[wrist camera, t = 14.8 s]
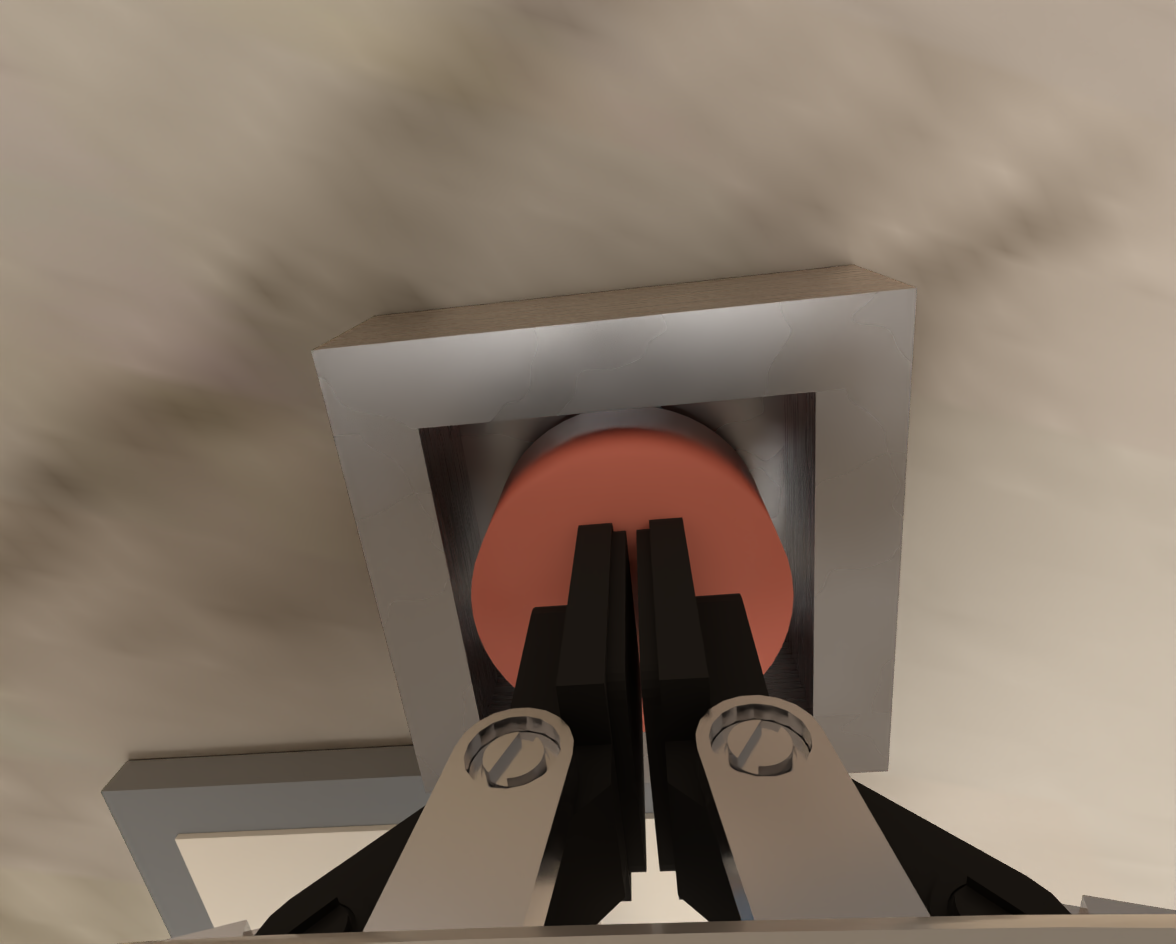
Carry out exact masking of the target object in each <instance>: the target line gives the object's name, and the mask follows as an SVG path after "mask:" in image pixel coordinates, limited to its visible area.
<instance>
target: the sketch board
mask: <svg viewBox="0 0 1176 944" xmlns="http://www.w3.org/2000/svg"><path fill="white" fill-rule="evenodd" d="M644 789H645V823H646V858H647V871H646V872H632V873H631V891H632V901H622V902H620V903H619V904H618V905H617V906H616V907H615V908H614V909H613V910H612V911H610V912H609V913H608V914H607V915H606V916H605V917H604V918H603V919H602V920H601V923H602V924H638V923H676V922H709V921H708V920H706V919H705V918H704V917H703V916H702V915H700V914H699V913H698V912H697V911H696V910H694V909H693V908H692V907H691V906H690V905H688V904H687V903H686V902H685V901H684V900H679V896H678V892H677V881H676V871H662V872H660V869H659V860H658V850H657V840H656V831H655V821H654V811H653V801H652V792H651V783H644ZM101 793H102V795H103V797H104V799H105V802H106V804H107V806H108V808H109V810H110V812H111V814H112V816H113V818H114V820H115V822H116V824H117V826H118V828H119V831H120V833H121V835H122V837H123V839H124V841H125V843H126V845H127V847H128V849H129V851H130V853H131V855H132V857H133V860H134V862H135V864H136V866H137V868H138V870H139V872H140V874H141V876H142V878H143V880H144V882H145V884H146V886H147V888H148V891H149V893H150V895H151V897H152V899H153V901H154V903H155V905H156V907H157V909H158V911H159V913H160V915H161V917H162V920H163V922H164V924H165V926H166V928H167V930H168V932H169V934H170V936H171V938H175V937H179V936H183V935H187V934H191V933H195V932H199V931H203V930H207V929H211V928H215V927H219V926H223V925H227V924H231V923H235V922H239V921H243V920H247V921H248V923H249V926H250V928H251V930H254V929H258V928H261V926H262V925H263V924H264V923H265V921H266V920H267V919H268V918H269V916H270V915H272V914H273V913H274V912H275V911H276V910H277V909H279V908H280V907H281V906H282V905H283V904H285V903H286V902H287V901H288V900H289V899H291V898H292V897H294V896H295V895H296V894H298V893H299V892H301V891H302V890H304V889H305V888H307V887H308V886H309V885H311V884H312V883H314V882H315V881H317V880H318V879H320V878H321V877H322V876H324V875H325V874H327V873H328V872H330V871H331V870H333V869H334V868H335V867H337V866H338V865H340V864H341V863H343V862H344V861H346V860H347V859H348V858H350V857H351V856H353V855H354V854H356V853H357V852H359V851H360V850H361V849H363V848H364V847H366V846H367V845H369V844H370V843H372V842H373V841H374V840H376V839H377V838H379V837H380V836H382V835H383V834H385V833H386V832H387V831H389V830H390V829H392V828H393V827H395V826H396V825H398V824H399V823H400V822H402V821H403V820H405V819H406V818H408V817H409V816H411V815H412V814H413V813H415V812H416V811H418V810H419V809H421V808H422V807H424V806H425V805H426V803H427V801H428V799H429V797H430V795H431V793H426V792H425V789H424V785H423V781H422V777H421V773H420V769H419V765H418V761H417V758H416V754H415V750H414V746H395V747H376V748H357V749H339V750H320V751H302V752H283V753H264V754H246V755H227V756H209V757H190V758H171V759H153V760H134V761H127V762H126V763H125V764H124V765H123V766H122V767H121V769H120V770H119V771H118V772H117V773H116V774H115V776H114V777H113V778H112V779H111V780H110V781H109V783H108V784H107V785H106V786H105V787H104V788H103V790H102V791H101Z"/></svg>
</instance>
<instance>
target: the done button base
mask: <svg viewBox="0 0 1176 944" xmlns="http://www.w3.org/2000/svg"><path fill="white" fill-rule="evenodd" d="M916 295H917V288H916V287H913V286H911V285H908V284H905V283H902V282H900V281H897V280H894V279H892V278H889V277H886V276H883V275H881V274H878V273H875V272H872V271H870V270H867V269H864V268H862V267H859V266H856V265H847V266H838V267H829V268H819V269H810V270H801V271H791V272H782V273H773V274H763V275H754V276H745V277H735V278H726V279H717V280H707V281H698V282H688V283H679V284H670V285H660V286H651V287H642V288H632V289H623V290H614V291H604V292H595V293H586V294H576V295H567V296H558V297H548V298H539V299H529V300H520V301H511V302H501V303H492V304H483V305H473V306H464V307H455V308H445V309H436V310H427V311H417V312H408V313H399V314H389V315H380V316H374V317H372V318H370V319H368V320H366V321H365V322H363V323H361V324H359V325H357V326H355V327H353V328H352V329H350V330H348V331H346V332H344V333H342V334H341V335H339V336H337V337H335V338H333V339H331V340H330V341H328V342H326V343H324V344H322V345H320V346H319V347H317V348H315V349H313V350H311V352H312V356H313V360H314V363H315V367H316V371H317V375H318V379H319V383H320V387H321V390H322V394H323V398H324V402H325V406H326V410H327V414H328V418H329V421H330V425H331V429H332V433H333V437H334V441H335V445H336V448H337V452H338V456H339V460H340V464H341V468H342V472H343V475H344V479H345V483H346V487H347V491H348V495H349V499H350V503H351V506H352V510H353V514H354V518H355V522H356V526H357V530H358V533H359V537H360V541H361V545H362V549H363V553H364V557H365V561H366V564H367V568H368V572H369V576H370V580H371V584H372V588H373V591H374V595H375V599H376V603H377V607H378V611H379V615H380V618H381V622H382V626H383V630H384V634H385V638H386V642H387V646H388V649H389V653H390V657H391V661H392V665H393V669H394V673H395V676H396V680H397V684H398V688H399V692H400V696H401V700H402V704H403V707H404V711H405V715H406V719H407V723H408V727H409V731H410V734H411V738H412V742H413V746H414V750H415V754H416V758H417V761H418V765H419V769H420V773H421V777H422V781H423V785H424V789H425V792H426V793H432V791H433V789H434V787H435V785H436V783H437V781H438V779H439V777H440V775H441V773H442V771H443V769H444V767H445V765H446V763H447V761H448V759H449V757H450V755H451V753H452V751H453V749H454V747H455V745H456V744H457V743H458V741H459V740H460V738H461V737H462V736H463V734H464V733H465V732H466V731H467V730H469V729H470V728H471V727H472V726H473V725H475V724H476V723H477V722H478V721H480V720H482V719H484V718H486V717H488V716H490V715H492V714H494V713H498V712H501V711H505V710H509V709H510V707H511V703H512V698H513V694H514V689H515V688H514V687H513V686H512V685H511V684H510V683H509V682H508V681H507V680H506V679H505V678H504V676H503V675H502V674H501V673H500V671H499V670H498V669H497V668H496V667H495V665H494V664H493V662H492V660H491V659H490V657H489V655H488V654H487V652H486V651H485V648H484V646H483V644H482V642H481V639H480V637H479V635H478V632H477V628H476V625H475V621H474V617H473V610H472V602H471V587H472V577H473V571H474V566H475V562H476V559H477V556H478V553H479V550H480V547H481V544H482V542H483V539H484V537H485V534H486V532H487V529H488V527H489V524H490V521H491V519H492V516H493V514H494V511H495V509H496V506H497V504H498V501H499V498H500V496H501V493H502V491H503V488H504V486H505V483H506V481H507V479H508V477H509V475H510V473H511V471H512V469H513V467H514V466H515V464H516V463H517V462H518V460H519V459H520V457H521V456H522V455H523V453H524V452H525V451H526V450H527V449H528V448H529V447H530V446H531V445H532V444H533V443H534V442H535V441H536V440H537V439H538V438H540V437H541V436H542V435H543V434H545V433H546V432H547V431H548V430H550V429H552V428H553V427H555V426H557V425H558V424H560V423H562V422H563V421H565V420H568V419H570V418H572V417H574V416H577V415H579V414H582V413H591V412H602V411H613V410H624V409H635V408H645V407H656V408H660V409H665V410H669V411H673V412H676V413H678V414H681V415H684V416H687V417H689V418H691V419H693V420H695V421H697V422H699V423H701V424H703V425H705V426H706V427H708V428H709V429H711V430H712V431H713V432H715V433H716V434H718V435H719V436H720V437H721V438H723V439H724V440H725V441H726V442H727V443H728V444H729V445H730V446H731V447H732V448H733V449H734V450H735V451H736V453H737V454H738V455H739V456H740V458H741V459H742V460H743V461H744V463H745V465H746V466H747V468H748V470H749V471H750V473H751V475H752V476H753V479H754V481H755V483H756V486H757V488H758V490H759V493H760V495H761V497H762V500H763V502H764V504H765V506H766V509H767V511H768V513H769V516H770V518H771V520H772V523H773V525H774V527H775V529H776V532H777V534H778V536H779V539H780V541H781V543H782V546H783V548H784V551H785V553H786V556H787V558H788V562H789V566H790V570H791V574H792V583H793V608H792V616H791V620H790V625H789V629H788V632H787V635H786V637H785V640H784V642H783V645H782V647H781V649H780V651H779V653H778V654H777V656H776V658H775V660H774V662H773V663H772V665H771V666H770V667H769V668H768V670H767V671H766V672H765V674H764V675H763V676H764V679H765V683H766V687H767V690H768V694H769V697H775V698H780V699H782V700H785V701H788V702H790V703H793V704H795V705H797V706H799V707H800V708H802V709H803V710H805V711H806V712H808V713H809V714H811V715H812V717H813V718H814V719H815V720H816V721H817V723H818V724H819V725H820V726H821V727H822V729H823V731H824V732H825V734H826V736H827V738H828V739H829V741H830V743H831V745H832V746H833V748H834V750H835V751H836V753H837V755H838V757H839V758H840V760H841V762H842V764H843V765H844V767H845V769H846V771H847V772H848V773H860V772H881V771H888V763H889V746H890V729H891V712H892V696H893V679H894V662H895V646H896V629H897V612H898V596H899V579H900V562H901V546H902V529H903V512H904V496H905V479H906V462H907V446H908V429H909V412H910V396H911V379H912V362H913V345H914V329H915V312H916ZM643 754H644V783H651V782H650V772H649V762H648V753H647V743H646V733H645V732H643Z"/></svg>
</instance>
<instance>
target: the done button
mask: <svg viewBox="0 0 1176 944" xmlns="http://www.w3.org/2000/svg"><path fill="white" fill-rule="evenodd" d="M680 517H682V518H683V523H684V530H685V536H686V542H687V548H688V554H689V560H690V566H691V572H692V578H693V584H694V590H695V596H705V595H720V594H735V593H740V594H741V597H742V599H743V603H744V607H745V610H746V614H747V617H748V621H749V625H750V628H751V632H752V636H753V639H754V643H755V647H756V650H757V654H758V657H759V661H760V665H761V668H762V672H763V675H764V674H765V672H766V671H767V670H768V668H769V667H770V666H771V665H772V663H773V662H774V660H775V658H776V656H777V654H778V653H779V651H780V649H781V647H782V645H783V642H784V640H785V637H786V635H787V632H788V629H789V625H790V620H791V616H792V608H793V583H792V574H791V570H790V566H789V562H788V558H787V556H786V553H785V551H784V548H783V546H782V543H781V541H780V539H779V536H778V534H777V532H776V529H775V527H774V525H773V523H772V520H771V518H770V516H769V513H768V511H767V509H766V506H765V504H764V502H763V500H762V497H761V495H760V493H759V490H758V488H757V486H756V483H755V481H754V479H753V476H752V475H751V473H750V471H749V470H748V468H747V466H746V465H745V463H744V461H743V460H742V459H741V458H740V456H739V455H738V454H737V453H736V451H735V450H734V449H733V448H732V447H731V446H730V445H729V444H728V443H727V442H726V441H725V440H724V439H723V438H721V437H720V436H719V435H718V434H716V433H715V432H713V431H712V430H711V429H709V428H708V427H706V426H705V425H703V424H701V423H699V422H697V421H695V420H693V419H691V418H689V417H687V416H684V415H681V414H678V413H676V412H673V411H669V410H665V409H660V408H656V407H645V408H635V409H624V410H613V411H602V412H591V413H582V414H579V415H577V416H574V417H572V418H570V419H568V420H565V421H563V422H562V423H560V424H558V425H557V426H555V427H553V428H552V429H550V430H548V431H547V432H546V433H545V434H543V435H542V436H541V437H540V438H538V439H537V440H536V441H535V442H534V443H533V444H532V445H531V446H530V447H529V448H528V449H527V450H526V451H525V452H524V453H523V455H522V456H521V457H520V459H519V460H518V462H517V463H516V464H515V466H514V467H513V469H512V471H511V473H510V475H509V477H508V479H507V481H506V483H505V486H504V488H503V491H502V493H501V496H500V498H499V501H498V504H497V506H496V509H495V511H494V514H493V516H492V519H491V521H490V524H489V527H488V529H487V532H486V534H485V537H484V539H483V542H482V544H481V547H480V550H479V553H478V556H477V559H476V562H475V566H474V571H473V577H472V587H471V602H472V610H473V617H474V621H475V625H476V628H477V632H478V635H479V637H480V639H481V642H482V644H483V646H484V648H485V651H486V652H487V654H488V655H489V657H490V659H491V660H492V662H493V664H494V665H495V667H496V668H497V669H498V670H499V671H500V673H501V674H502V675H503V676H504V678H505V679H506V680H507V681H508V682H509V683H510V684H511V685H512V686H513V687H514V688H515V685H516V680H517V675H518V671H519V666H520V662H521V657H522V653H523V648H524V644H525V639H526V635H527V630H528V626H529V621H530V616H531V613H532V610H533V608H534V607H543V606H558V605H567V602H568V595H569V588H570V581H571V574H572V567H573V560H574V552H575V545H576V538H577V531H578V526H579V525H589V524H602V523H612V525H613V531H626V535H627V544H628V554H629V564H630V574H631V583H632V593H633V603H634V613H635V623H636V632H637V642H638V652H639V662H640V651H639V614H638V576H637V539H636V530H639V529H649V520H654V519H667V518H680ZM642 719H643V732H645V724H644V714H643V704H642Z"/></svg>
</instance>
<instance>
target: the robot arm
mask: <svg viewBox="0 0 1176 944" xmlns="http://www.w3.org/2000/svg"><path fill="white" fill-rule="evenodd" d="M636 539H637V576H638V614H639V651H640V662H639V652H638V642H637V632H636V623H635V613H634V603H633V593H632V583H631V574H630V564H629V554H628V544H627V535H626V531H613V525H612V523H602V524H589V525H579V526H578V531H577V538H576V545H575V552H574V560H573V567H572V574H571V581H570V588H569V595H568V602H567V605H558V606H543V607H534V608H533V610H532V613H531V616H530V621H529V626H528V630H527V635H526V639H525V644H524V648H523V653H522V657H521V662H520V666H519V671H518V675H517V680H516V685H515V689H514V694H513V698H512V703H511V707H510V709H509V710H505V711H501V712H498V713H494V714H492V715H490V716H488V717H486V718H484V719H482V720H480V721H478V722H477V723H476V724H475V725H473V726H472V727H471V728H470V729H469V730H467V731H466V732H465V733H464V734H463V736H462V737H461V738H460V740H459V741H458V743H457V744H456V745H455V747H454V749H453V751H452V753H451V755H450V757H449V759H448V761H447V763H446V765H445V767H444V769H443V771H442V773H441V775H440V777H439V779H438V781H437V783H436V785H435V787H434V789H433V791H432V793H431V795H430V797H429V799H428V801H427V803H426V805H425V806H424V807H422V808H421V809H419V810H418V811H416V812H415V813H413V814H412V815H411V816H409V817H408V818H406V819H405V820H403V821H402V822H400V823H399V824H398V825H396V826H395V827H393V828H392V829H390V830H389V831H387V832H386V833H385V834H383V835H382V836H380V837H379V838H377V839H376V840H374V841H373V842H372V843H370V844H369V845H367V846H366V847H364V848H363V849H361V850H360V851H359V852H357V853H356V854H354V855H353V856H351V857H350V858H348V859H347V860H346V861H344V862H343V863H341V864H340V865H338V866H337V867H335V868H334V869H333V870H331V871H330V872H328V873H327V874H325V875H324V876H322V877H321V878H320V879H318V880H317V881H315V882H314V883H312V884H311V885H309V886H308V887H307V888H305V889H304V890H302V891H301V892H299V893H298V894H296V895H295V896H294V897H292V898H291V899H289V900H288V901H287V902H286V903H285V904H283V905H282V906H281V907H280V908H279V909H277V910H276V911H275V912H274V913H273V914H272V915H270V916H269V918H268V919H267V920H266V921H265V923H264V924H263V925H262V926H261V928H258V929H254V930H251V928H250V926H249V923H248V921H247V920H243V921H239V922H235V923H231V924H227V925H223V926H219V927H215V928H211V929H207V930H203V931H199V932H195V933H191V934H187V935H183V936H179V937H175V938H171V939H167V940H163V941H146V942H131V943H119V944H1176V910H1170V909H1164V908H1158V907H1152V906H1146V905H1140V904H1134V903H1128V902H1122V901H1116V900H1110V899H1104V898H1098V897H1092V896H1086V895H1083V896H1082V901H1081V906H1080V907H1077V906H1071V905H1065V904H1061V903H1060V902H1059V901H1058V899H1057V898H1056V897H1055V896H1054V895H1053V894H1052V893H1051V892H1049V891H1048V890H1046V889H1045V888H1043V887H1042V886H1040V885H1039V884H1037V883H1036V882H1035V881H1033V880H1032V879H1030V878H1029V877H1027V876H1026V875H1024V874H1022V873H1020V872H1018V871H1017V870H1015V869H1013V868H1011V867H1009V866H1008V865H1006V864H1004V863H1002V862H1000V861H999V860H997V859H995V858H993V857H991V856H990V855H988V854H986V853H984V852H983V851H981V850H979V849H977V848H975V847H974V846H972V845H970V844H968V843H966V842H965V841H963V840H961V839H959V838H957V837H956V836H954V835H952V834H950V833H948V832H947V831H945V830H943V829H941V828H939V827H938V826H936V825H934V824H932V823H930V822H929V821H927V820H925V819H923V818H921V817H920V816H918V815H916V814H914V813H912V812H911V811H909V810H907V809H905V808H903V807H902V806H900V805H898V804H896V803H894V802H893V801H891V800H889V799H887V798H885V797H884V796H882V795H880V794H878V793H876V792H875V791H873V790H871V789H869V788H867V787H866V786H864V785H862V784H860V783H858V782H857V781H855V780H853V779H851V777H850V776H849V774H848V772H847V771H846V769H845V767H844V765H843V764H842V762H841V760H840V758H839V757H838V755H837V753H836V751H835V750H834V748H833V746H832V745H831V743H830V741H829V739H828V738H827V736H826V734H825V732H824V731H823V729H822V727H821V726H820V725H819V724H818V723H817V721H816V720H815V719H814V718H813V717H812V715H811V714H809V713H808V712H806V711H805V710H803V709H802V708H800V707H799V706H797V705H795V704H793V703H790V702H788V701H785V700H782V699H780V698H775V697H769V694H768V690H767V687H766V683H765V679H764V676H763V672H762V668H761V665H760V661H759V657H758V654H757V650H756V647H755V643H754V639H753V636H752V632H751V628H750V625H749V621H748V617H747V614H746V610H745V607H744V603H743V599H742V597H741V594H740V593H735V594H720V595H705V596H695V590H694V584H693V578H692V572H691V566H690V560H689V554H688V548H687V542H686V536H685V530H684V523H683V518H682V517H680V518H667V519H654V520H649V529H639V530H636ZM642 704H643V714H644V724H645V733H646V743H647V753H648V762H649V772H650V782H651V792H652V801H653V811H654V821H655V831H656V840H657V850H658V860H659V869H660V872H662V871H676V881H677V892H678V896H679V900H684V901H685V902H686V903H687V904H688V905H690V906H691V907H692V908H693V909H694V910H696V911H697V912H698V913H699V914H700V915H702V916H703V917H704V918H705V919H706V920H708V921H709V922H676V923H638V924H602V923H601V920H602V919H603V918H604V917H605V916H606V915H607V914H608V913H609V912H610V911H612V910H613V909H614V908H615V907H616V906H617V905H618V904H619V903H620V902H622V901H632V891H631V873H632V872H646V871H647V858H646V823H645V789H644V754H643V719H642Z"/></svg>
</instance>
